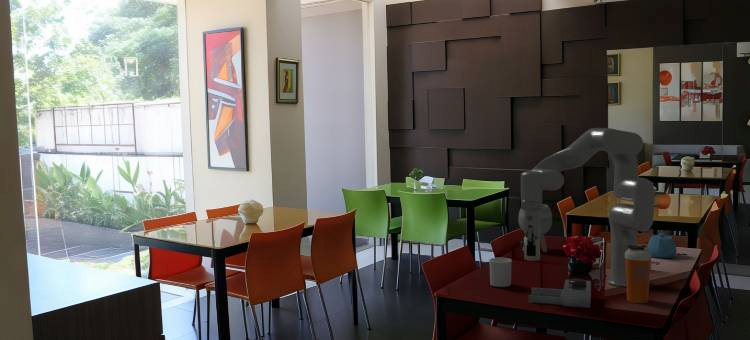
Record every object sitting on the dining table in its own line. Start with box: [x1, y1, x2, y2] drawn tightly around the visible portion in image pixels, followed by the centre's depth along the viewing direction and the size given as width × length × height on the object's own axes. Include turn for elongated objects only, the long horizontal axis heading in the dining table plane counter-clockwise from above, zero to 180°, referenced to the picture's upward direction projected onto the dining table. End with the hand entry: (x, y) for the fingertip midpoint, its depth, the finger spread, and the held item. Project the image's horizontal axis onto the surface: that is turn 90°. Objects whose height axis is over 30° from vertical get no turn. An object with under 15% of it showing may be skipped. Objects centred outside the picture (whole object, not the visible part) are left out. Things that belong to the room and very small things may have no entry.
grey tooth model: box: [517, 203, 553, 253], centre depth 322 cm, size 16×16×22 cm
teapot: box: [646, 232, 678, 259], centre depth 303 cm, size 13×11×18 cm
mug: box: [488, 257, 513, 289], centre depth 261 cm, size 11×9×10 cm
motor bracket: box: [528, 278, 592, 309], centre depth 240 cm, size 21×17×8 cm
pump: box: [519, 235, 541, 262], centre depth 240 cm, size 7×6×9 cm
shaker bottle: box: [625, 244, 652, 304], centre depth 235 cm, size 9×9×20 cm
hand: (532, 253), depth 240 cm, fingers closed on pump, 5 cm apart
